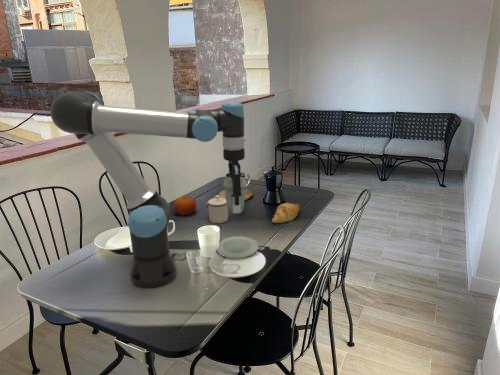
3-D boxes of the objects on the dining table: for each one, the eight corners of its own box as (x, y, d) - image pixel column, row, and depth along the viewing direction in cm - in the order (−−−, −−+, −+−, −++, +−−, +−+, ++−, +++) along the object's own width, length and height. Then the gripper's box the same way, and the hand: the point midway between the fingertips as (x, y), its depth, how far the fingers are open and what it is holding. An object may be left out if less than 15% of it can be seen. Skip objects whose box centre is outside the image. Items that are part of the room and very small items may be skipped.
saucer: (217, 262, 132) (217, 257, 132) (215, 241, 147) (215, 238, 147) (261, 257, 135) (261, 253, 134) (254, 238, 150) (254, 234, 149)
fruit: (170, 214, 175) (168, 198, 173) (185, 207, 184) (184, 192, 181) (186, 219, 170) (185, 203, 167) (201, 211, 178) (200, 196, 175)
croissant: (278, 233, 161) (285, 221, 157) (262, 219, 165) (268, 206, 160) (302, 217, 177) (310, 205, 172) (287, 204, 181) (293, 192, 176)
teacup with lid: (232, 218, 169) (231, 194, 166) (219, 225, 162) (218, 200, 159) (213, 213, 176) (212, 190, 172) (200, 219, 169) (198, 195, 165)
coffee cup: (227, 205, 141) (226, 175, 137) (249, 206, 139) (248, 176, 135) (221, 213, 133) (220, 182, 129) (244, 215, 131) (243, 183, 127)
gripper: (248, 154, 119) (249, 218, 127) (240, 141, 139) (241, 198, 146) (226, 155, 118) (228, 220, 126) (220, 142, 138) (222, 199, 145)
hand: (235, 208), depth 136 cm, fingers closed on coffee cup, 8 cm apart
